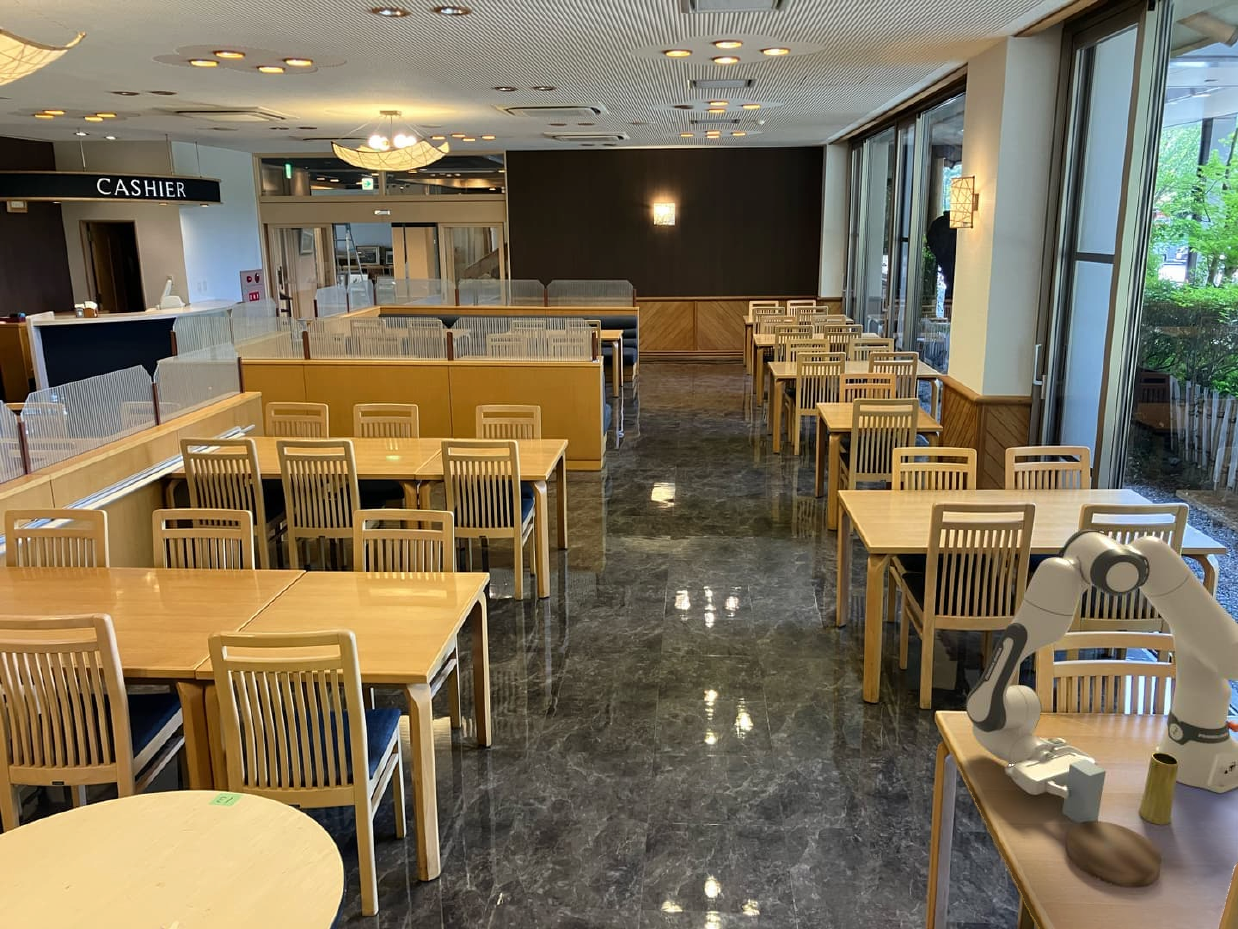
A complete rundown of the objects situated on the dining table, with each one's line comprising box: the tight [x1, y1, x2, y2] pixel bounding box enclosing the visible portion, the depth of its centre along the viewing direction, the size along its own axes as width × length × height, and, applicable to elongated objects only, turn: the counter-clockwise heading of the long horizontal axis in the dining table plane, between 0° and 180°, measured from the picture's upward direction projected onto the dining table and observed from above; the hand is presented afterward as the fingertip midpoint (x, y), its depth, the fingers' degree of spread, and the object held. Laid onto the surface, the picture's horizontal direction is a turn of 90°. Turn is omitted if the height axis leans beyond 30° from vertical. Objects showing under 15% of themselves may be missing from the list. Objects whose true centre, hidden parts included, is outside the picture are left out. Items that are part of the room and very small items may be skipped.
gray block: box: [1061, 759, 1107, 824], centre depth 211 cm, size 5×5×12 cm
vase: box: [1138, 751, 1179, 826], centre depth 211 cm, size 6×6×14 cm
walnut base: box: [1065, 820, 1163, 888], centre depth 198 cm, size 17×17×3 cm
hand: (1084, 790), depth 211 cm, fingers open, 8 cm apart
